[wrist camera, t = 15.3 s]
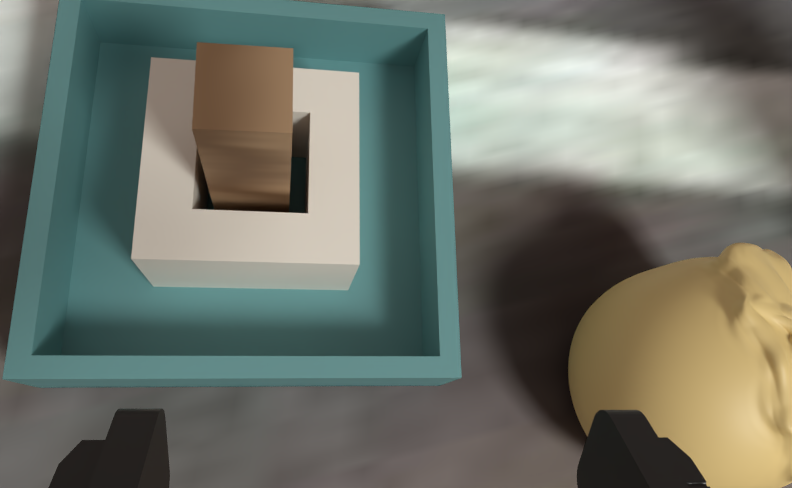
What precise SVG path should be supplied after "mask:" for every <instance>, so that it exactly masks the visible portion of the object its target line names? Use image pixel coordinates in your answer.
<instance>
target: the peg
mask: <svg viewBox="0 0 792 488" xmlns="http://www.w3.org/2000/svg"><path fill="white" fill-rule="evenodd" d="M192 131H193V135H194V138H195V142H196V145H197V149H198V153H199V156H200V160H201V164H202V167H203V171H204V174H205V178H206V182H207V185H208V189H209V193H210V196H211V200H212V203H213V207H214V210H233V211H259V212H285V213H289V201H290V178H291V156H292V133H293V48H280V47H264V46H249V45H233V44H217V43H202V42H197V48H196V66H195V83H194V101H193V119H192Z"/></svg>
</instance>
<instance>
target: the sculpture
mask: <svg viewBox="0 0 792 488" xmlns="http://www.w3.org/2000/svg"><path fill="white" fill-rule="evenodd" d="M568 378H569V387H570V393H571V398H572V402H573V406H574V409H575V412H576V414H577V417H578V419H579V422H580V424H581V426H582V428H583V430H584V432H585V433H586V435H587V437H588V434H589V431H590V428H591V425H592V422H593V419H594V416H595V414H596V413H597V412H598V411H599V410H639V411H641V412H642V413H643V414H644V415H645V417H646V418H647V420H648V422H649V423H650V425H651V426H652V428H653V430H654V431H655V433H656V434H657V436H658V437H668V438H669V439H670V440H671V441H672V442H673V443H674V444H676V445H677V446H678V447H679V448H680V449H681V450H682V451H684V452H685V453H686V454H687V455H688V456H689V457H690V458H691V459H692V460H693V462H694V463H695V465H696V466H697V468H698V469H699V471H700V473H701V474H702V476H703V477H704V479H705V480H706V485H707V486H710V488H781V487H783V486H786V485H788V484H790V483H792V268H791V266H790V265H789V263H788V262H787V261H786V260H785V259H784V258H783V257H781V256H780V255H778V254H777V253H775V252H773V251H771V250H769V249H761V248H760V247H758V246H756V245H753V244H749V243H735V244H732V245H730V246H728V247H727V248H725V249H724V250H723V252H722V253H721V254H720V256H719V257H701V258H693V259H687V260H682V261H678V262H674V263H671V264H667V265H664V266H661V267H658V268H654V269H651V270H648V271H644V272H642V273H639V274H636V275H634V276H632V277H629V278H627V279H625V280H623V281H621V282H620V283H618V284H616V285H615V286H613V287H612V288H610V289H609V290H608V291H606V292H605V293H604V294H602V295H601V296H600V297H599V298H598V299H597V300H596V301H595V302H594V303H593V304H592V305H591V306H590V308H589V309H588V310H587V311H586V313H585V314H584V316H583V317H582V319H581V321H580V323H579V324H578V327H577V329H576V331H575V334H574V336H573V340H572V343H571V348H570V353H569V362H568Z"/></svg>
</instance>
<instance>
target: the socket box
mask: <svg viewBox="0 0 792 488" xmlns="http://www.w3.org/2000/svg"><path fill="white" fill-rule="evenodd" d="M197 42H202V43H217V44H233V45H249V46H264V47H280V48H293V133H292V156H291V178H290V201H289V213H285V212H259V211H233V210H214V207H213V203H212V200H211V196H210V193H209V189H208V185H207V182H206V178H205V174H204V171H203V167H202V164H201V160H200V156H199V153H198V149H197V145H196V142H195V138H194V135H193V131H192V119H193V101H194V83H195V66H196V48H197ZM459 378H462V377H461V356H460V334H459V312H458V290H457V269H456V247H455V225H454V204H453V182H452V160H451V139H450V117H449V95H448V73H447V52H446V30H445V14H434V13H423V12H412V11H401V10H390V9H379V8H368V7H357V6H346V5H335V4H324V3H313V2H302V1H291V0H59V5H58V12H57V19H56V25H55V32H54V39H53V45H52V52H51V59H50V66H49V72H48V79H47V86H46V92H45V99H44V106H43V112H42V119H41V126H40V132H39V139H38V146H37V152H36V159H35V166H34V172H33V179H32V186H31V192H30V199H29V206H28V212H27V219H26V226H25V232H24V239H23V246H22V252H21V259H20V266H19V272H18V279H17V286H16V292H15V299H14V306H13V312H12V319H11V326H10V332H9V339H8V346H7V352H6V359H5V366H4V372H3V379H4V380H8V381H13V382H17V383H21V384H26V385H30V386H34V387H39V388H63V387H258V386H440V385H443V384H445V383H448V382H451V381H454V380H457V379H459Z"/></svg>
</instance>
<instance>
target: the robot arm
mask: <svg viewBox="0 0 792 488" xmlns="http://www.w3.org/2000/svg"><path fill="white" fill-rule="evenodd" d="M169 481H170V470H169V457H168V445H167V433H166V421H165V413H164V410H163V409H118V410H117V411H116V413H115V415H114V418H113V421H112V423H111V426H110V429H109V432H108V434H107V437H106V440H82V441H81V442H80V443H79V444H78V445H77V446H76V447H75V448H74V449H73V450H72V451H71V452H70V453H69V454H68V455H67V456H66V457H65V458H64V459H63V460H62V461H61V462H60V463H59V465H58V467H57V469H56V472H55V474H54V476H53V479H52V481H51V483H50V486H49V488H169ZM577 485H578V488H710V486H707V485H706V480H705V479H704V477H703V476H702V474H701V473H700V471H699V469H698V468H697V466H696V465H695V463H694V462H693V460H692V459H691V458H690V457H689V456H688V455H687V454H686V453H685V452H684V451H682V450H681V449H680V448H679V447H678V446H677V445H676V444H674V443H673V442H672V441H671V440H670V439H669V438H668V437H658V436H657V434H656V433H655V431H654V430H653V428H652V426H651V425H650V423H649V422H648V420H647V418H646V417H645V415H644V414H643V413H642V412H641V411H639V410H599V411H598V412H597V413H596V414H595V416H594V419H593V422H592V425H591V428H590V431H589V434H588V437H587V440H586V443H585V446H584V449H583V452H582V455H581V458H580V461H579V465H578V469H577Z"/></svg>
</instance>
